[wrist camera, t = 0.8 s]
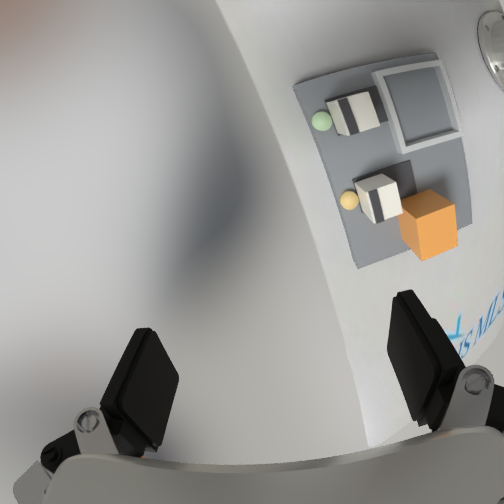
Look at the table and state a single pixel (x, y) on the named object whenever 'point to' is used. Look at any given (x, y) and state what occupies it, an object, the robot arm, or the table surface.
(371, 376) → the table surface
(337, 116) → the toggle
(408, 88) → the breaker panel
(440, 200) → the cap
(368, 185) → the cube with dark stripe
